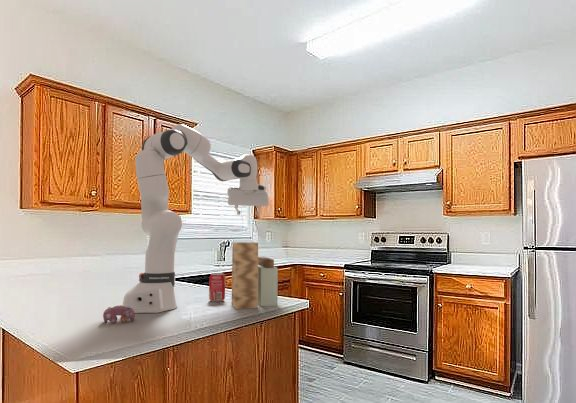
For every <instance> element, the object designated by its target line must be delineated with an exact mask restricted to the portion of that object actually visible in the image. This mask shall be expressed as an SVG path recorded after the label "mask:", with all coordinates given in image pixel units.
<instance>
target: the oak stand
mask: <svg viewBox="0 0 576 403" xmlns="http://www.w3.org/2000/svg"><path fill="white" fill-rule="evenodd" d="M231 255H232V256H231V257H232V259H231V265H232V266H231V305H232V307H233V308H234V309H235V310H238V309H239V310H240V309H241V310H242V309H257V308H258V306H259V304H258V257H259V242H253V241H252V242H247V241H245V242H241V241H239V242H236V241H235V242H234V241H233V242H232V254H231Z"/></svg>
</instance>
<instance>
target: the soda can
mask: <svg viewBox="0 0 576 403" xmlns="http://www.w3.org/2000/svg"><path fill="white" fill-rule="evenodd" d="M208 281H209V282H208V300H209V301H210V302H213V303H220V302H223V301H224V300H225V298H226V276H225V273H223V272H212V273H210V276H209V280H208Z"/></svg>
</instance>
